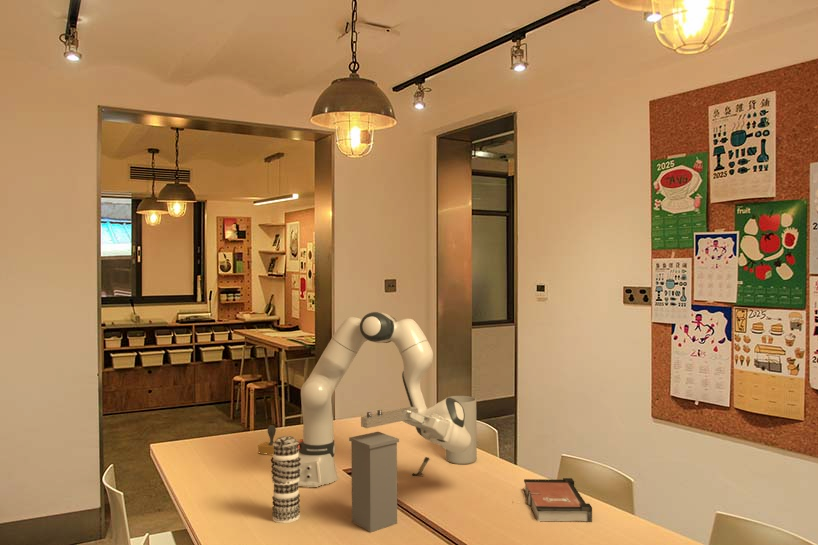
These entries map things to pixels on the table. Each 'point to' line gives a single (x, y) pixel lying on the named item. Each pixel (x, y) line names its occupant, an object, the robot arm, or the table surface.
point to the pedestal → (374, 480)
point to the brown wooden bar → (386, 417)
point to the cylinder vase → (470, 425)
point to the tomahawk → (421, 467)
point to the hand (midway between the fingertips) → (405, 412)
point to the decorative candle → (285, 480)
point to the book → (556, 501)
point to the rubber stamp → (268, 446)
